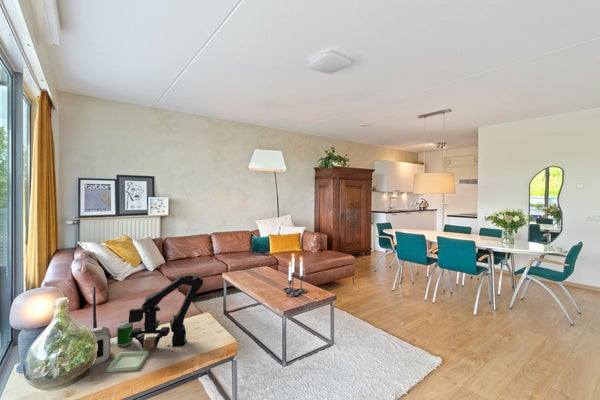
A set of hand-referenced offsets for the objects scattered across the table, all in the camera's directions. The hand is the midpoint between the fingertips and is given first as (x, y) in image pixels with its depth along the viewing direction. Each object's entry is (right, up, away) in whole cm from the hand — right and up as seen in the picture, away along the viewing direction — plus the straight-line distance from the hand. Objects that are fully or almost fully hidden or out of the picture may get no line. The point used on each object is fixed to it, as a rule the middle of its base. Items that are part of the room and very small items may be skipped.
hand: (150, 347), depth 155 cm
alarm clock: (-25, -1, -11) cm, 27 cm away
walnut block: (0, -1, 0) cm, 1 cm away
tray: (-4, -1, -12) cm, 13 cm away
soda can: (-17, -1, +5) cm, 18 cm away
